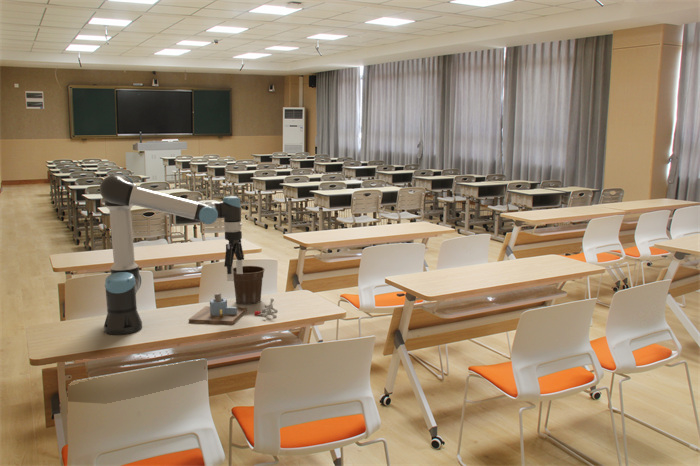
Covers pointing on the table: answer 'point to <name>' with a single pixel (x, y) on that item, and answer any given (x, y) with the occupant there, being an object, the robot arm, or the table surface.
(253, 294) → the plant pot
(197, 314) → the post base
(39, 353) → the table surface
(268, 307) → the molecular model
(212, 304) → the flange collar
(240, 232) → the robot arm
